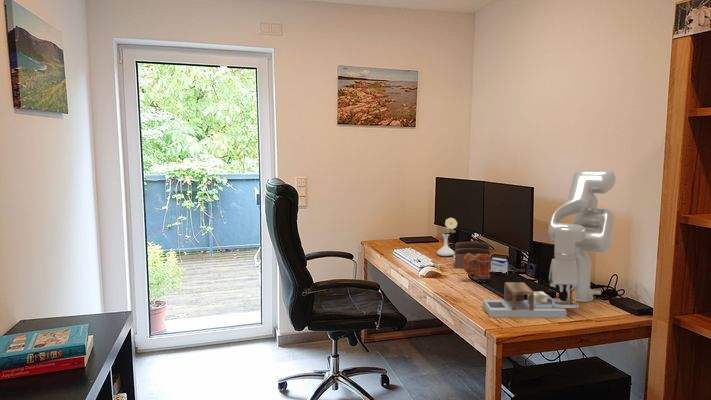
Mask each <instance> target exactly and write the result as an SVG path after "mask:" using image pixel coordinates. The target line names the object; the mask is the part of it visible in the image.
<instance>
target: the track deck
mask: <svg viewBox="0 0 711 400" xmlns="http://www.w3.org/2000/svg"><path fill="white" fill-rule="evenodd" d="M547 304H548V303H547ZM554 304H559V302H554ZM482 307H483V310H484V311H485V312H486V313H487V315H488V317H489V318H506V319H507V318H511V319H512V318H516V319H517V318H519V319H521V318H522V319H523V318H525V319H528V318H530V319H531V318H533V319H534V318H535V319H543V318H544V319H545V318H546V319H567V310H566V308H533V310H529V302H528V301H527V299H524V301H516V310H512V301H505V300H504V299H482Z"/></svg>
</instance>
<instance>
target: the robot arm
mask: <svg viewBox="0 0 711 400" xmlns="http://www.w3.org/2000/svg"><path fill="white" fill-rule="evenodd" d="M615 184H616V175H615V173H614V171H612V170H608V169H607V170H605V169H602V170H601V169H595V170H594V169H589V170H588V169H585V170H578V171H575V172H574V174H573V176H572V181H571V185H570V187H569V192H568V196H567V199H566V202H565V203H563V204H561V205H560V206H559V207H558V208H557V209H555V211H554V212H553V214H552V216H551V217H550V222H549V225H548V229H547V234H548V237H549V238H550V239H551V240H553V241H554V251H553V253H554V255H553V257H554V258H552V259H551V261H550V262H551V263H550V266H549V267H550V268H549V274H548V281H549V286H550V287H553V288H556V289H557V290H558V299H560V300H561V301H566V299H570V289H575V290H577V301H576V302H579V303H585V302H586V303H588V302H593V300H594V295H595V296H596V295H599V296H601V295H602V290H600V289H599V290H597V289H595V288H594V289H592V288H591V271H592V270H591V268H592V261H591V258H590V256H589V254H588V253H587V252H591V253H592V252H594V253H607V252H608V251H609V249H610V245H611V241H612V236H613V235H612V234H613V228H614V222H615V219H614V214H613V212H612V211H611V210H610V209H607V208H606V209H605V208H597V207H598V203H599V200H598V198H597V196H596V194H601V195H604V194H607V193H609V191H610V190H612V189H613V187H614V186H615ZM572 215H573V223H567V222H566V223H565V222H561V221H562V220H563V219H564V218H566V217H569V216H572Z"/></svg>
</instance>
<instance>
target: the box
mask: <svg viewBox="0 0 711 400" xmlns="http://www.w3.org/2000/svg"><path fill="white" fill-rule="evenodd" d="M508 261H509V260H508V259H507V258H502V257H501V258H500V257H491V269H490V273H491V272H502V273H506V272H507V273H508V264H509V263H508Z"/></svg>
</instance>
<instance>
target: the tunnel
mask: <svg viewBox="0 0 711 400" xmlns="http://www.w3.org/2000/svg"><path fill="white" fill-rule="evenodd" d="M503 290H504V294H503V295H504V296H503V300H505V301H512V310H516V301H524V300H525V295H530V299H529V310H533V301H534V292H533V289H531V288H530V287H529V286H528V285H527V284H526V283H525V282H522V281H521V282H517V281H516V282H510V281H507V282H505V281H504V289H503Z"/></svg>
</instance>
